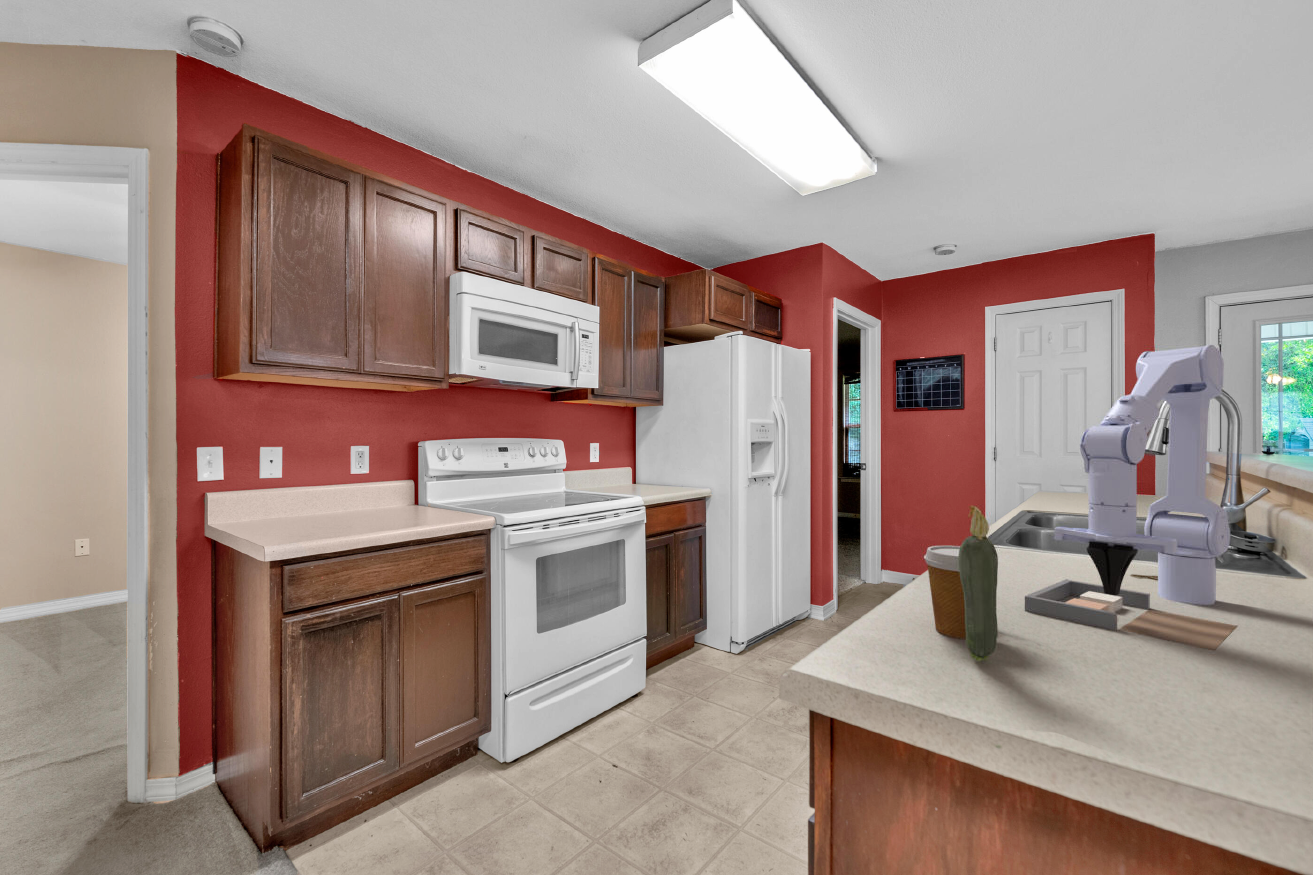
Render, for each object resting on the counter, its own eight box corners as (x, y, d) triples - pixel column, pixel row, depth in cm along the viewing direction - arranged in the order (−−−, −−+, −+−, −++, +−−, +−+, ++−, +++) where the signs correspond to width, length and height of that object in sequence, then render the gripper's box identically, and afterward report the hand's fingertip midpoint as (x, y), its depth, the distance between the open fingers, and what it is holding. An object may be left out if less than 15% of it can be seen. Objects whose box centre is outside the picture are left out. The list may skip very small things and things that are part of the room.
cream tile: (1088, 605, 97) (1089, 590, 97) (1122, 612, 93) (1122, 597, 93) (1079, 610, 94) (1079, 595, 94) (1113, 617, 91) (1113, 601, 91)
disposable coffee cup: (991, 648, 78) (991, 560, 78) (916, 633, 84) (917, 552, 84) (1000, 629, 86) (1000, 549, 86) (931, 617, 92) (931, 542, 92)
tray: (1065, 598, 102) (1066, 579, 102) (1149, 615, 93) (1149, 593, 93) (1024, 617, 92) (1024, 596, 92) (1114, 638, 82) (1114, 614, 82)
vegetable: (1003, 671, 71) (1003, 509, 71) (964, 668, 72) (965, 508, 72) (989, 657, 75) (990, 505, 75) (953, 654, 76) (954, 504, 76)
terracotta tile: (1073, 613, 93) (1073, 598, 93) (1108, 620, 89) (1108, 604, 89) (1063, 618, 90) (1063, 602, 90) (1098, 626, 86) (1099, 609, 86)
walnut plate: (1149, 616, 92) (1149, 609, 92) (1237, 633, 84) (1237, 625, 84) (1118, 637, 83) (1118, 629, 83) (1214, 659, 75) (1214, 649, 75)
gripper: (1047, 501, 90) (1047, 587, 90) (1168, 511, 79) (1167, 610, 79) (1063, 498, 95) (1063, 580, 95) (1180, 507, 83) (1180, 600, 83)
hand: (1111, 593), depth 87 cm, fingers closed
